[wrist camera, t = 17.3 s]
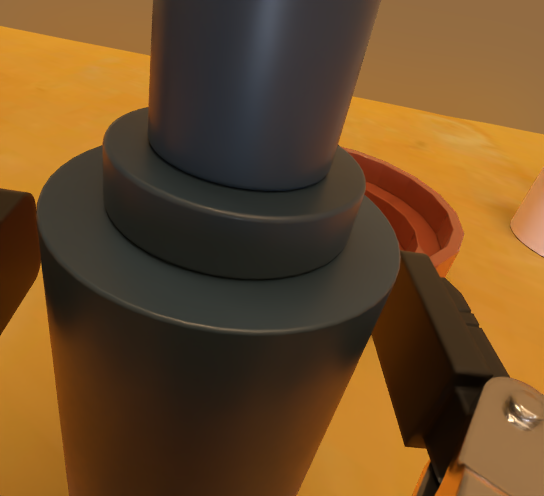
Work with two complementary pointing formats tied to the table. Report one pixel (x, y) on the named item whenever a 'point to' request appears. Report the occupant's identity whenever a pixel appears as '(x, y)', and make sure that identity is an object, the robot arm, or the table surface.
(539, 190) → the cylinder with rectangular tab
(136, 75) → the table surface
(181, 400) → the flask
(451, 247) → the bowl
